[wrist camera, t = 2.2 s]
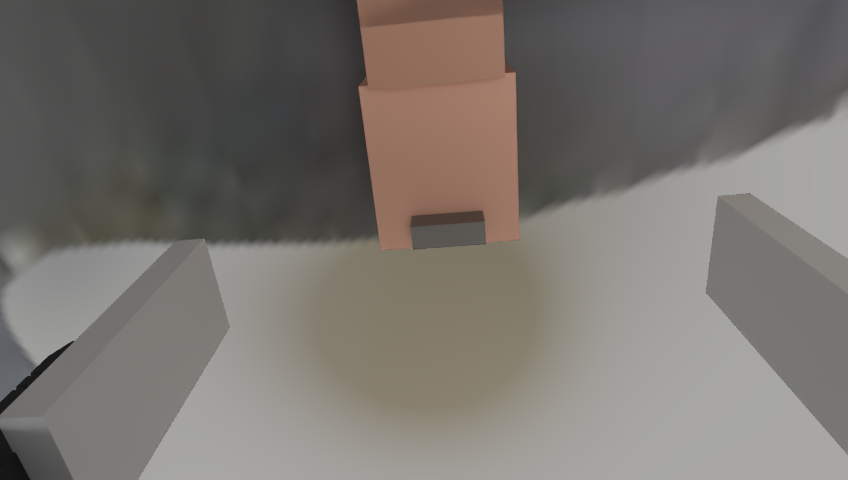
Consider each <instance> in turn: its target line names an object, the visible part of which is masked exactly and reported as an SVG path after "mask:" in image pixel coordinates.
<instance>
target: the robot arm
mask: <svg viewBox="0 0 848 480" xmlns="http://www.w3.org/2000/svg"><path fill="white" fill-rule="evenodd" d="M706 293H707V294H708V295H709V296H710V298H711V299H712V300H713V301H714V302H715V303H716V305H717V306H718V307H719V308H720V309H721V310H722V311H723V313H724V314H725V315H726V316H727V317H728V318H729V319H730V320H731V322H732V323H733V324H734V325H735V326H736V327H737V329H738V330H739V331H740V332H741V333H742V334H743V335H744V337H745V338H746V339H747V340H748V341H749V342H750V343H751V345H752V346H753V347H754V348H755V349H756V350H757V351H758V352H759V354H760V355H761V356H762V357H763V358H764V359H765V360H766V362H767V363H768V364H769V365H770V366H771V367H772V369H773V370H774V371H775V372H776V373H777V374H778V376H780V378H781V379H782V380H783V381H784V382H785V383H786V385H787V386H788V387H789V388H790V389H791V390H792V392H794V394H795V395H796V396H797V397H798V398H799V399H800V401H801V402H802V403H803V404H804V405H805V406H806V408H807V409H808V410H809V411H810V412H811V413H812V414H813V416H815V418H816V419H817V420H818V421H819V422H820V423H821V425H822V426H823V427H824V428H825V429H826V430H827V431H828V433H829V434H830V435H831V436H832V437H833V438H834V439H835V441H836V442H837V443H838V444H839V445H840V446H841V448H842V449H843V450H844V451H845V452H846V453H847V454H848V259H847V258H846V257H844V256H842V255H841V254H840V253H838V252H837V251H835V250H834V249H832V248H831V247H829V246H828V245H826V244H825V243H823V242H822V241H820V240H819V239H817V238H816V237H814V236H813V235H811V234H810V233H808V232H806V231H805V230H804V229H802V228H801V227H799V226H798V225H796V224H795V223H793V222H792V221H790V220H789V219H787V218H786V217H784V216H783V215H781V214H780V213H778V212H777V211H775V210H774V209H772V208H770V207H769V206H768V205H766V204H765V203H763V202H762V201H760V200H759V199H757V198H756V197H754V196H753V195H751V194H750V193H748V194H736V195H724V196H718V200H717V208H716V216H715V223H714V232H713V239H712V248H711V255H710V263H709V271H708V280H707V287H706ZM229 328H230V326H229V323H228V320H227V316H226V312H225V309H224V305H223V302H222V298H221V295H220V291H219V288H218V284H217V281H216V277H215V274H214V270H213V267H212V263H211V260H210V256H209V253H208V249H207V246H206V242H205V239H194V240H182V241H176V242H175V243H174V244H173V245H172V246H171V247H170V248H169V249H168V250H167V251H166V252H165V253H164V254H163V255H161V256H160V257H159V258H158V259H157V260H156V262H154V263H153V264H152V265H151V266H150V267H149V268H148V269H147V270H146V271H145V272H144V273H143V274H142V275H141V276H140V277H139V278H138V279H137V280H136V281H135V282H134V283H133V284H132V285H131V286H130V287H129V288H128V289H127V290H126V291H125V292H124V293H123V294H122V295H121V296H120V297H119V298H118V299H117V300H116V301H115V302H114V303H113V304H112V305H111V306H110V307H109V308H108V309H107V310H106V311H105V312H104V313H103V314H102V315H101V316H100V317H99V318H98V319H97V320H96V321H95V322H94V323H93V324H92V325H91V326H90V327H89V328H88V329H87V330H85V332H84V333H82V334H81V335H80V336H79V338H77V339H76V340H75V341H72V342H70V343H69V344H67V345H65V346H64V347H62V348H61V349H59V350H57V351H56V352H54V353H53V354H51V355H49V356H48V357H47V358H46V359H45V360H44V361H43V362H42V363H41V364H40V365H39V366H38V367H36V368H35V369H34V370H33V371H32V372H31V376H27V377H26V378H25V379H24V380H23V381H22V382H21V383H20V384H19V385H18V386H17V387H16V388H17V389H16V390H12V391H11V392H10V393H9V394H8V395H7V396H6V397H5V398H4V399H3V400H2V401H1V402H0V480H138V479H139V477H140V475H141V473H142V472H143V470H144V469H145V467H146V465H147V464H148V462H149V460H150V459H151V457H152V455H153V454H154V452H155V450H156V449H157V447H158V445H159V444H160V442H161V440H162V439H163V437H164V435H165V434H166V432H167V430H168V429H169V427H170V425H171V424H172V422H173V421H174V419H175V417H176V416H177V414H178V412H179V411H180V409H181V407H182V405H183V404H184V402H185V400H186V399H187V397H188V395H189V394H190V392H191V391H192V389H193V387H194V386H195V384H196V382H197V381H198V379H199V377H200V376H201V374H202V372H203V371H204V369H205V367H206V366H207V364H208V362H209V361H210V359H211V357H212V356H213V354H214V353H215V351H216V349H217V348H218V346H219V344H220V343H221V341H222V339H223V337H224V336H225V334H226V333H227V331H228V329H229Z"/></svg>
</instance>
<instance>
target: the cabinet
mask: <svg viewBox="0 0 848 480" xmlns="http://www.w3.org/2000/svg"><path fill="white" fill-rule="evenodd" d="M357 6H358V14H359V21H360V29H361V37H362V45H363V52H364V60H365V68H366V75H367V76H366V77H365V78H364V80H363V81H362V82H361V84H360V85H359V86H358V87H359V95H360V102H361V109H362V117H363V124H364V131H365V138H366V146H367V153H368V160H369V168H370V175H371V182H372V190H373V197H374V204H375V211H376V219H377V226H378V233H379V241H380V248H381V250H393V249H406V248H413V249H426V248H440V247H452V246H453V247H454V246H467V245H480V244H486V243H488V242H501V241H514V240H519V201H518V157H517V113H516V72H515V71H514V70H513V69H512V68H511V67H510V65H509V64H508V63H507V62H506V61H505V54H504V21H503V0H357Z"/></svg>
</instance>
